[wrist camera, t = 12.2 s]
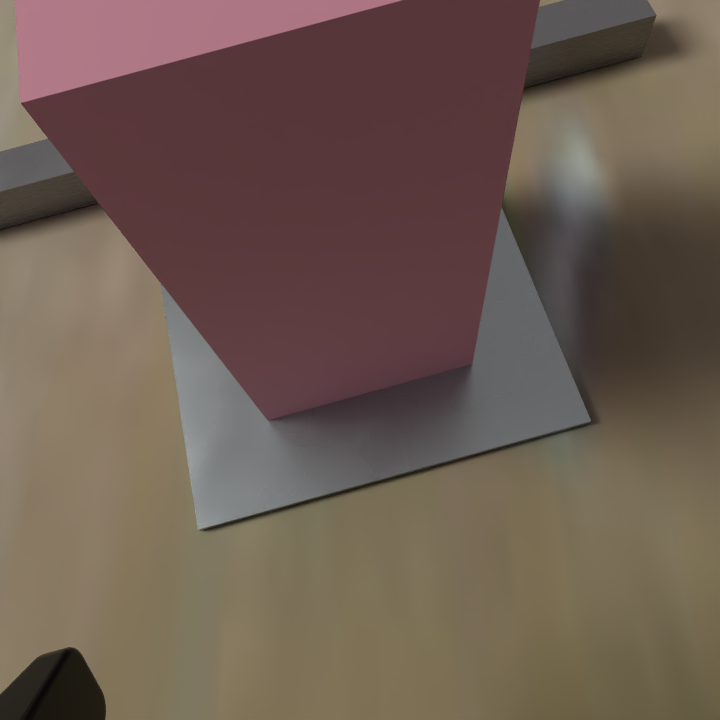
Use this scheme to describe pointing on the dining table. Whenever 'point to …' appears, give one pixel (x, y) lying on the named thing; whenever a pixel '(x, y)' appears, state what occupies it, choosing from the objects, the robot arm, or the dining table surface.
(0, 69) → the dining table surface
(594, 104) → the dining table surface
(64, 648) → the robot arm
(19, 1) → the carton
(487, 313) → the rail
